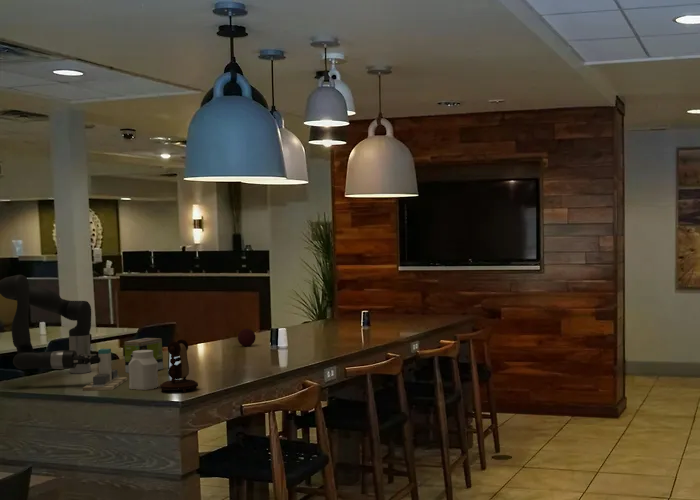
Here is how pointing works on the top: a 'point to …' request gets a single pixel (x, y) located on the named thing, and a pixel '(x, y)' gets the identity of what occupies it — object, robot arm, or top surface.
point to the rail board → (107, 387)
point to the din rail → (104, 379)
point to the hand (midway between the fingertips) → (102, 358)
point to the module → (105, 362)
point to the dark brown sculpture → (178, 368)
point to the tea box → (144, 344)
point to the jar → (143, 370)
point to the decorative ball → (246, 337)
